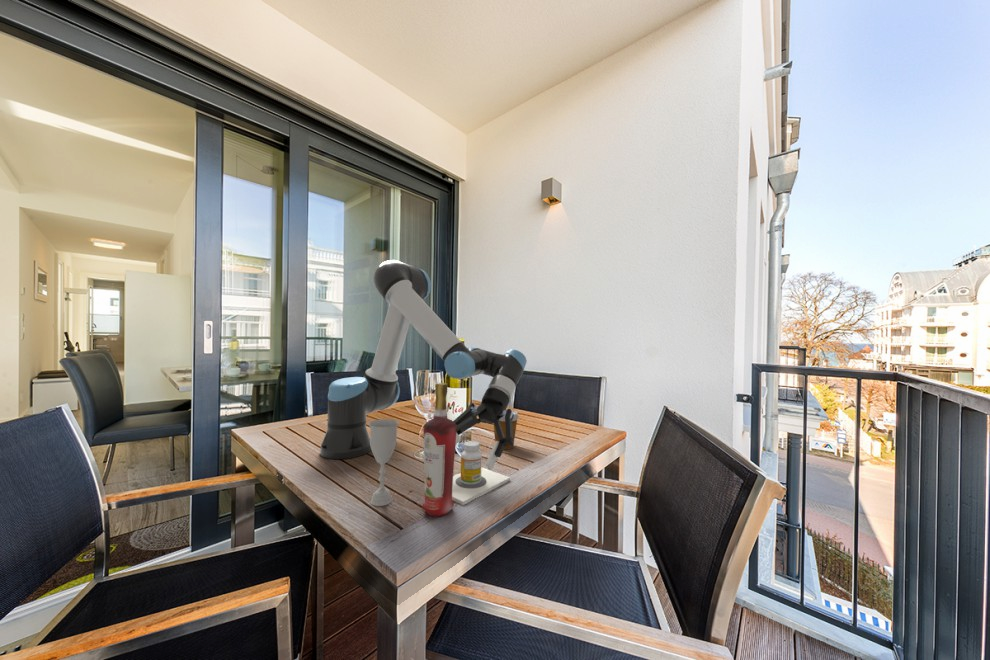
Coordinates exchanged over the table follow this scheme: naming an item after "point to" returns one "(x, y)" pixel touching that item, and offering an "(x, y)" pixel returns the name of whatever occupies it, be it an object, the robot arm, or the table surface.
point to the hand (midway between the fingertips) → (466, 461)
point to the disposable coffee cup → (502, 422)
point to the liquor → (439, 457)
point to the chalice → (382, 454)
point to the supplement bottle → (471, 463)
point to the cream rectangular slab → (476, 486)
